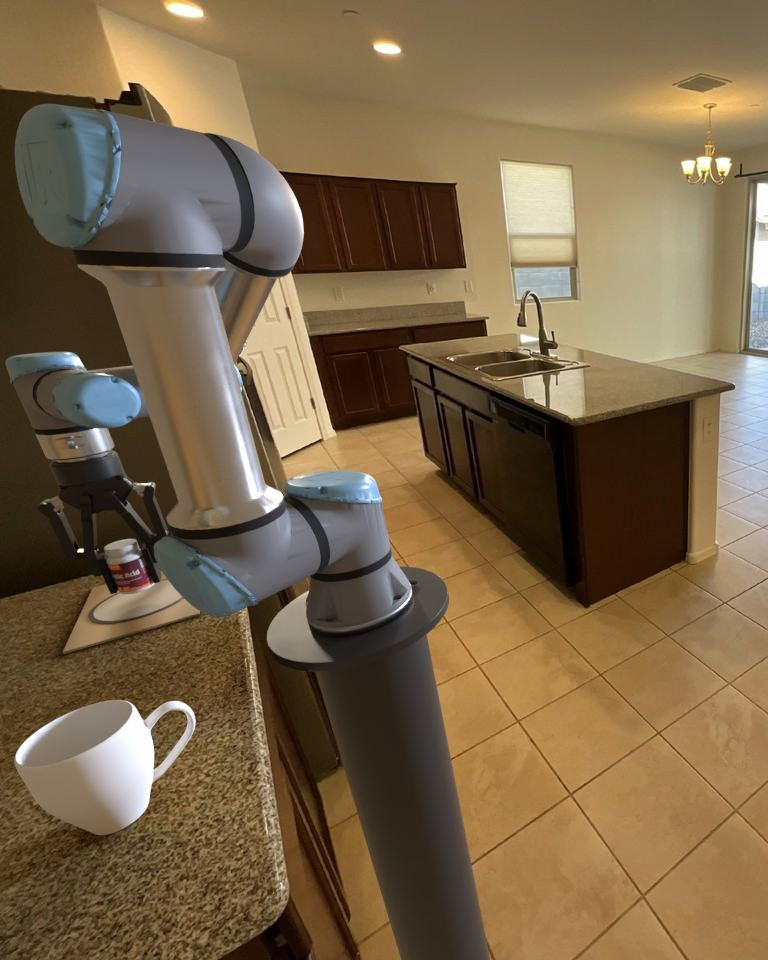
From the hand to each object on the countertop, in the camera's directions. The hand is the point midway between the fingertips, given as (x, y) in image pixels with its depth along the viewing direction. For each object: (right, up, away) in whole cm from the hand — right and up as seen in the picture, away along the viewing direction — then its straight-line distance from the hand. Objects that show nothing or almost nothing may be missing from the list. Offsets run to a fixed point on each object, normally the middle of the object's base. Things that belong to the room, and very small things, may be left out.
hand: (136, 584), depth 89 cm
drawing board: (0, -3, +1) cm, 4 cm away
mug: (+34, -16, -34) cm, 50 cm away
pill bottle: (0, -1, 0) cm, 1 cm away
